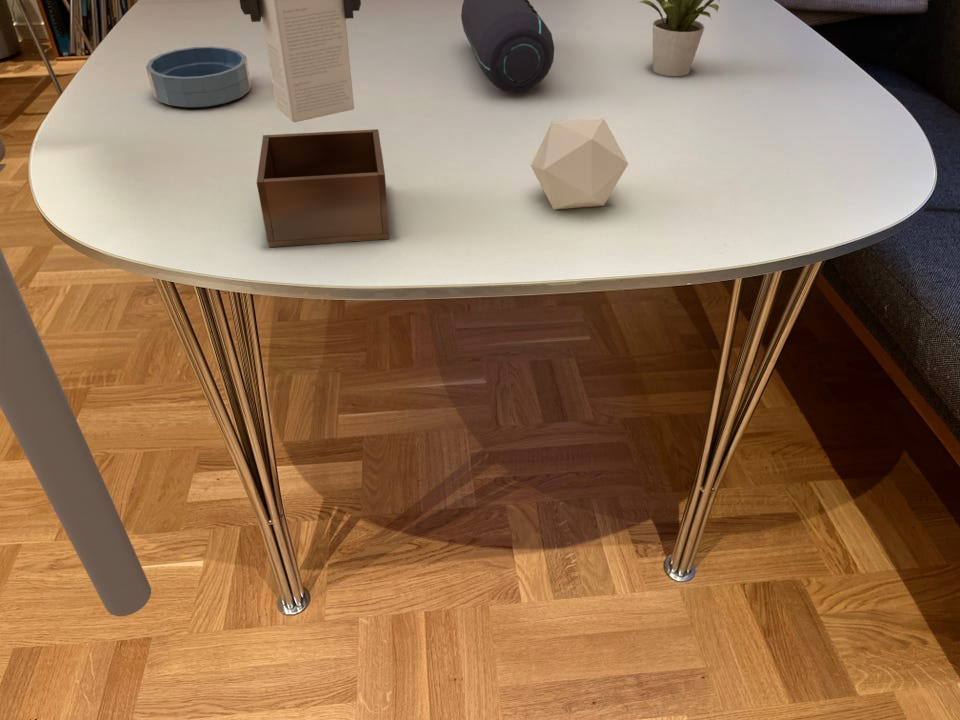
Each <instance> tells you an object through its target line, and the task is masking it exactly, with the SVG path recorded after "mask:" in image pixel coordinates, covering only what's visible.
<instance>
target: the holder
mask: <svg viewBox="0 0 960 720" xmlns="http://www.w3.org/2000/svg"><path fill="white" fill-rule="evenodd" d="M380 137H381V136H380V130H379V129H377V128H376V129H375V128H374V129H357V130H355V129H354V130H337V131H335V130H334V131H319V132H318V131H317V132H316V131H315V132H301V133H300V132H296V133H281V134H280V133H279V134H277V133H276V134H263V135H262V139H261V147H260V155H259V160H258V161H259V162H258V168H257V177H256V187H257V193H258V199H259V204H260V208H261V213H262V214H261V215H262V219H263V224H264V230H265V235H266V240H267V246H268V248H277V247H278V248H279V247H280V248H281V247H292V246H306V245H307V246H308V245H320V244H335V243H337V244H338V243H348V242H350V243H351V242H362V241H363V242H364V241H378V240H389V239H390V226H389V213H388V196H387V185H386V183H387V182H386V171H385V165H384V158H383V153H382V146H381V144H382V143H381V139H380Z"/></svg>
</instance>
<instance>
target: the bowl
mask: <svg viewBox="0 0 960 720" xmlns="http://www.w3.org/2000/svg"><path fill="white" fill-rule="evenodd" d="M248 64H249V63H248V58H247V56H246V55H245V54H244V53H243V52H241V51H239V50H237V49H233V48H230V47H221V46H212V45H211V46H192V47H185V48H178V49H174V50H170V51H167V52H164V53H160V54H158V55H156V56H155V57H152V58H151V59H149V60H148V63H147V64H146V66H145V69H146V72H147V76H148V80H149V84H150V88H151V92H152V95H153V97H154V98H155V99H156V100H157V101H158V102H160V103H162V104H165V105H168V106H172V107H179V108H190V109H191V108H193V109H194V108H195V109H196V108H197V109H198V108H208V107H209V108H210V107H216V106H221V105H223V104H228V103H231V102H233V101H235V100H237V99H241V98H242V97H244V96H245V95H246V94H248V93H249V92H251V86H252V82H251V81H252V80H251V76H250V75H251V74H250V69H249V65H248Z"/></svg>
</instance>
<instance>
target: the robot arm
mask: <svg viewBox="0 0 960 720" xmlns="http://www.w3.org/2000/svg"><path fill="white" fill-rule="evenodd" d="M361 5H362V0H344V9H345V19H346V20H347V19H349V20H350V19H354V17H355V16H354V12H360V9H361ZM239 6H240V9H241V11H242V13H243V14H244V16H246V15H247V16H249V15H250V21H251V23H261V22H262V16H261V10H260V4H259V0H239Z"/></svg>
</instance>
